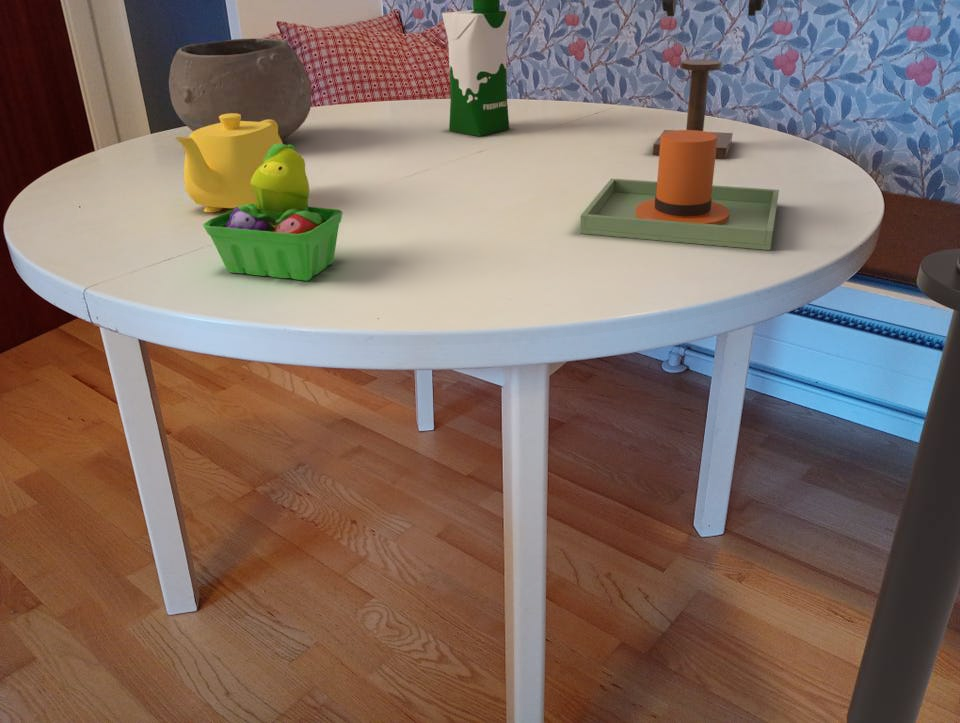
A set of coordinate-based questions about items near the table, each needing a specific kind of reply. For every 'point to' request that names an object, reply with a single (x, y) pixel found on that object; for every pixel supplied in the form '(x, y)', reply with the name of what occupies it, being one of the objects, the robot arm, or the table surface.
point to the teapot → (226, 160)
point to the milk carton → (478, 68)
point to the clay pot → (240, 83)
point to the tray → (742, 229)
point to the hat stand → (700, 103)
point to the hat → (685, 180)
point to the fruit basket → (277, 224)
